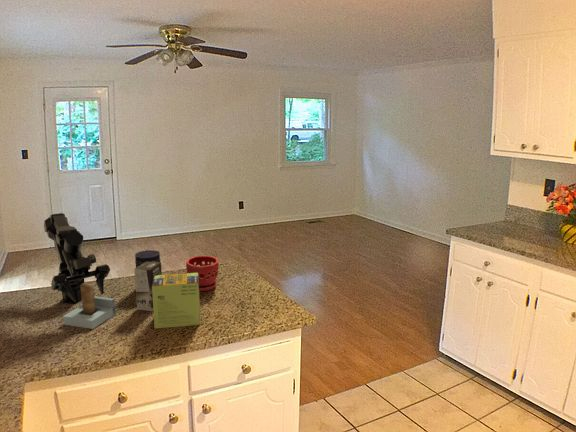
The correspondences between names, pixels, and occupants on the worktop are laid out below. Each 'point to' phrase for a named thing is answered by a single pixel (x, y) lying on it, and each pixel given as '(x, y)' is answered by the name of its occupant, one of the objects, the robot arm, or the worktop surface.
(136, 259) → the storage jar
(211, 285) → the plant pot
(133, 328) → the worktop surface
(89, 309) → the peg
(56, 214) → the robot arm
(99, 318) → the socket block
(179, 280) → the protein box
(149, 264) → the coffee box
